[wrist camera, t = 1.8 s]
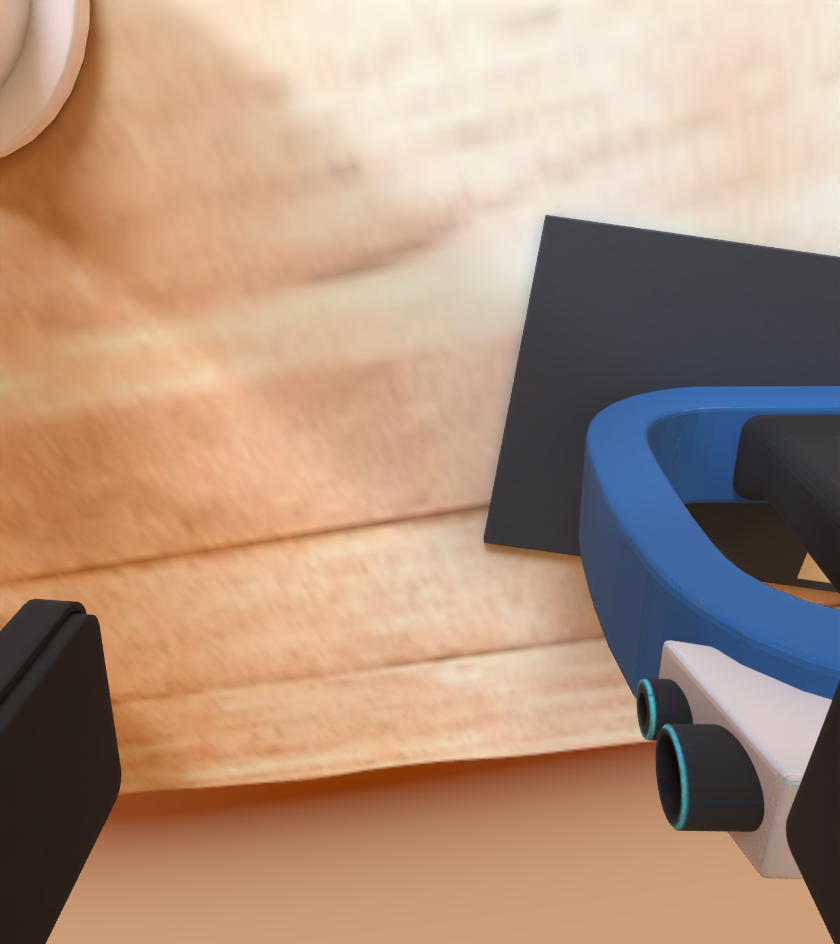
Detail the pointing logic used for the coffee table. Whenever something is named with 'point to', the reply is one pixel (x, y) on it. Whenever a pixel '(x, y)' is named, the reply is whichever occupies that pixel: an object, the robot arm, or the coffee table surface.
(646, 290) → the mat
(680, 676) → the handheld scanner
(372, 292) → the coffee table surface
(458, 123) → the coffee table surface
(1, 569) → the coffee table surface
